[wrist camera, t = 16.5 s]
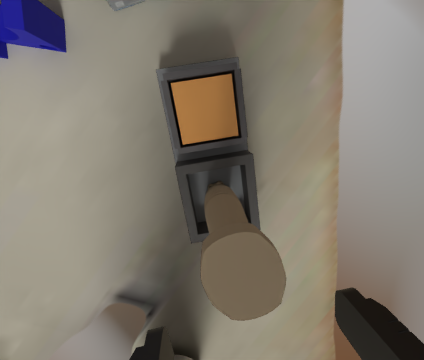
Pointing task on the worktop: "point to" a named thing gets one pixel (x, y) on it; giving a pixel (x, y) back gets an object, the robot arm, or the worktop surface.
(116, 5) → the label tape box
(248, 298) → the handle
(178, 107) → the button
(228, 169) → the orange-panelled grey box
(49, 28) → the blue curved piece
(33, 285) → the worktop surface
